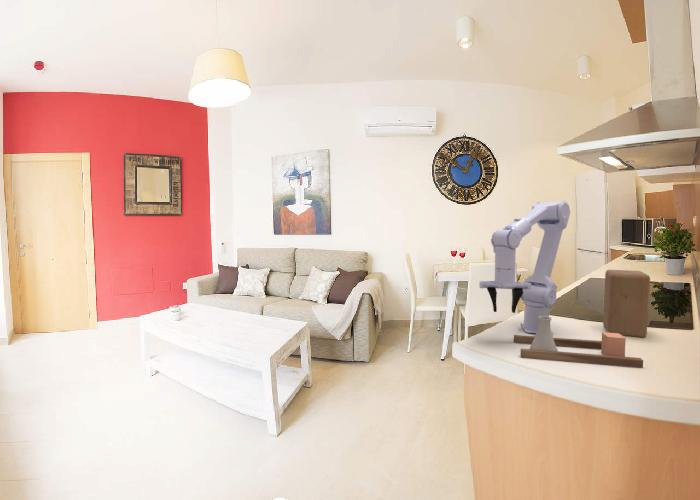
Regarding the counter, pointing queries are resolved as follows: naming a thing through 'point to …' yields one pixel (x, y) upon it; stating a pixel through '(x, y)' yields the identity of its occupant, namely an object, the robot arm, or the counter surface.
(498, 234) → the robot arm
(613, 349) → the block
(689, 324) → the counter surface
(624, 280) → the wooden block
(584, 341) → the strip
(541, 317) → the flask
